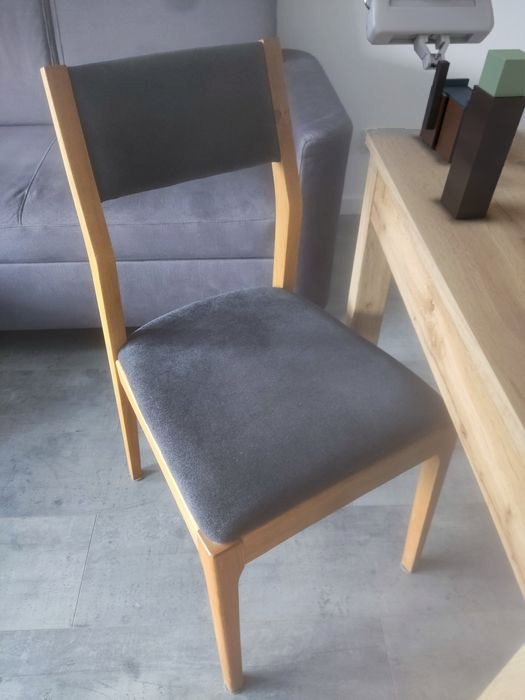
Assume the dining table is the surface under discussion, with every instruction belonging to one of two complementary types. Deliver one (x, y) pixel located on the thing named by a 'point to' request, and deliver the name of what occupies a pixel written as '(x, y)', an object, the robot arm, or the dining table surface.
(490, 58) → the block
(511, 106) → the plinth
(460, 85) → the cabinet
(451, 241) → the dining table surface
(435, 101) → the door
